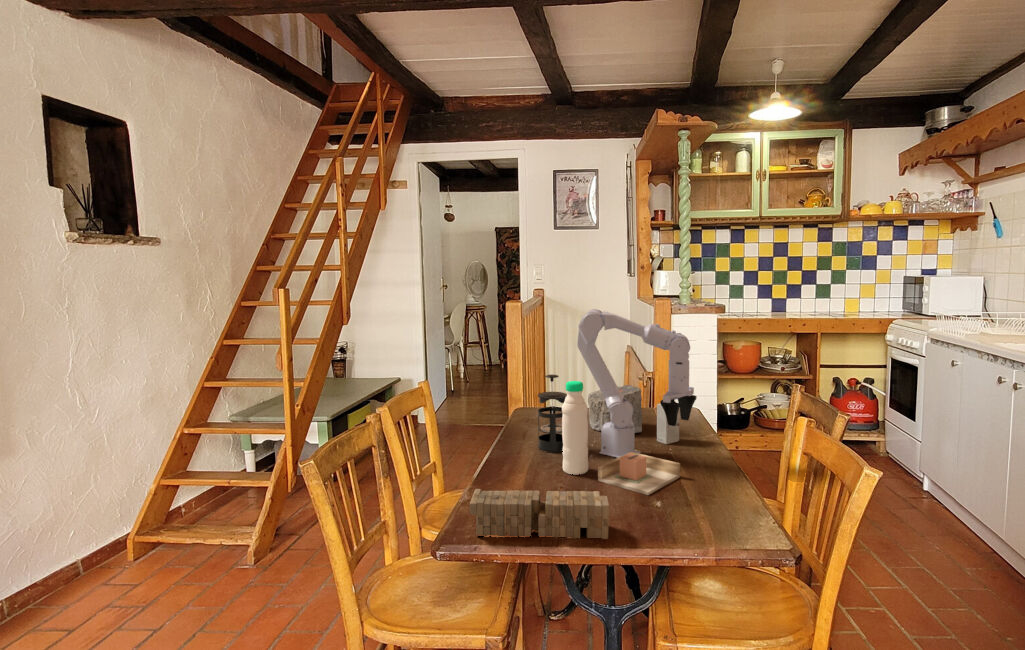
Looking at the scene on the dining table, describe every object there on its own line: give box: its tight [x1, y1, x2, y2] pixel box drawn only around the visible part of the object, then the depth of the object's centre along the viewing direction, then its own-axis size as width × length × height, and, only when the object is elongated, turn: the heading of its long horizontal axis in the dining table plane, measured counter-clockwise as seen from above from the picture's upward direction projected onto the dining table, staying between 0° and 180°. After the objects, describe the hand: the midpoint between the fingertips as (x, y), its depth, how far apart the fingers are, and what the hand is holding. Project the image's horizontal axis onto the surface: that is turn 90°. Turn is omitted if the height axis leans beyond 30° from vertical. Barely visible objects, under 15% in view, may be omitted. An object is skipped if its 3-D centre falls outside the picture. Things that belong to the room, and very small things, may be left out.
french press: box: [537, 374, 568, 453], centre depth 185 cm, size 12×9×23 cm
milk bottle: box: [561, 380, 589, 476], centre depth 164 cm, size 7×7×25 cm
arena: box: [597, 452, 681, 496], centre depth 158 cm, size 15×16×4 cm
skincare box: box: [656, 403, 680, 445], centre depth 189 cm, size 6×4×12 cm
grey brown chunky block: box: [587, 384, 643, 434], centre depth 205 cm, size 19×17×15 cm
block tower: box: [469, 488, 610, 540], centre depth 130 cm, size 8×8×29 cm
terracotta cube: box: [620, 453, 646, 480], centre depth 158 cm, size 5×5×5 cm
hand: (678, 422), depth 173 cm, fingers open, 7 cm apart
